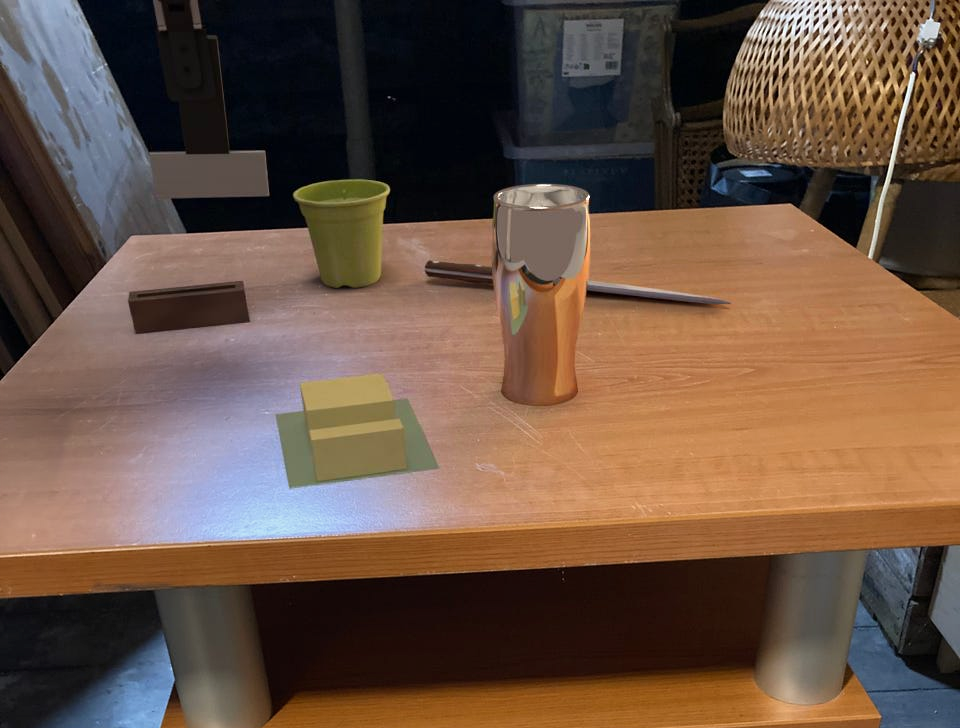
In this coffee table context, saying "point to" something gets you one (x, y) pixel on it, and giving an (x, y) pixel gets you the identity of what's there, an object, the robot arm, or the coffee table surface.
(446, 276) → the steak knife
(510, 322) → the beer glass
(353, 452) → the butter slice
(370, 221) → the plant pot
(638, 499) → the coffee table surface
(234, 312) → the knife block
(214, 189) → the spatula
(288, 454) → the butter dish
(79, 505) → the coffee table surface
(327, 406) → the butter block
